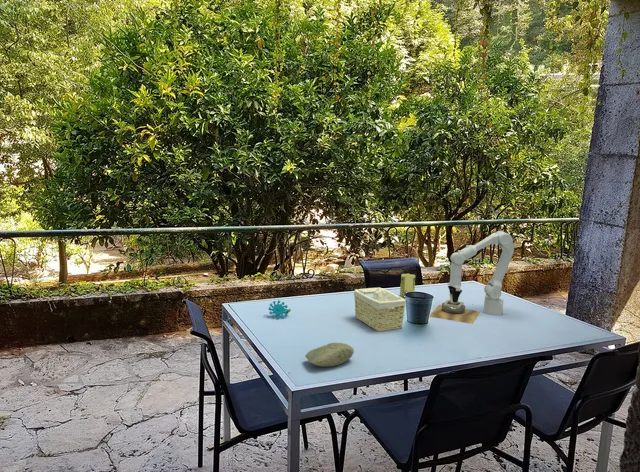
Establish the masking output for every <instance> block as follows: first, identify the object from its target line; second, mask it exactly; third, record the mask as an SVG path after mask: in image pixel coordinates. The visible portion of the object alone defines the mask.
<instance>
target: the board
mask: <svg viewBox="0 0 640 472" xmlns="http://www.w3.org/2000/svg"><path fill="white" fill-rule="evenodd" d="M441 309H442V304H439V305H437V306H436V308H435V309H434V310H432V312H430V314H429V315H430V316H429V315H428V316H429V318H436V319H440V320H441V319H442V320H448V321H453V322H459V323H464V324H471V325H473V324H474V323H475V321H476V320H477V318H478V317H479V315H480V313H481V312H482V311H480V310H475V309H474V310H473V309H469V308H467V309H466V308H465V313H463V314H450V313H446V312H443V311H442V310H441Z"/></svg>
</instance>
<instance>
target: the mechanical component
mask: <svg viewBox="0 0 640 472" xmlns="http://www.w3.org/2000/svg"><path fill="white" fill-rule="evenodd" d="M400 278H401V279H400V284H399V285H400V286H399V287H400V289H399V293H400V294H399V296H400V297H401V298H405V297H404V296H405V293H406V292H413V291H415V287H416V286H415V285H416V282H415V281H416V274H413V273H412V274H410V273H409V272H408V273H402V274H401V277H400Z"/></svg>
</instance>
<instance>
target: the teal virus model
mask: <svg viewBox="0 0 640 472" xmlns="http://www.w3.org/2000/svg"><path fill="white" fill-rule="evenodd" d="M268 310H269V315H272V318H274V319H277V320H280V319H284V318H285V317H286V316H288V315H289V312H291V311H292V309H291V308H289V309H288V305H287V304H285V302H284V301H282V302H281V300H280V299H279V300H277V301H276V300H274V301H272V303H270V304H269V307H268ZM276 316H277V317H276ZM280 316H281V317H280ZM275 317H276V318H275Z"/></svg>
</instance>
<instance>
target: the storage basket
mask: <svg viewBox="0 0 640 472" xmlns="http://www.w3.org/2000/svg"><path fill="white" fill-rule="evenodd" d="M370 294H372V296H373V297H372V296H370V297H369V296H368V295H370ZM353 296H354V314H355V317H356V319H358V320H359V321H361V322H362V323H364V324H365V325H367V326H368V327H370V328H372V329H373V330H375V331H377V332H382V331H391V330H399V329H401V328H402V327H403V320H404V315H405V307H406V305H407V303H406V299H405V298H404V297H400V295H397V294H395V293H393V292H392V291H389V290H387V289H385V288H382V287H368V288H366V287H365V288H359V289H357V288H355V289H354V291H353Z"/></svg>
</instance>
